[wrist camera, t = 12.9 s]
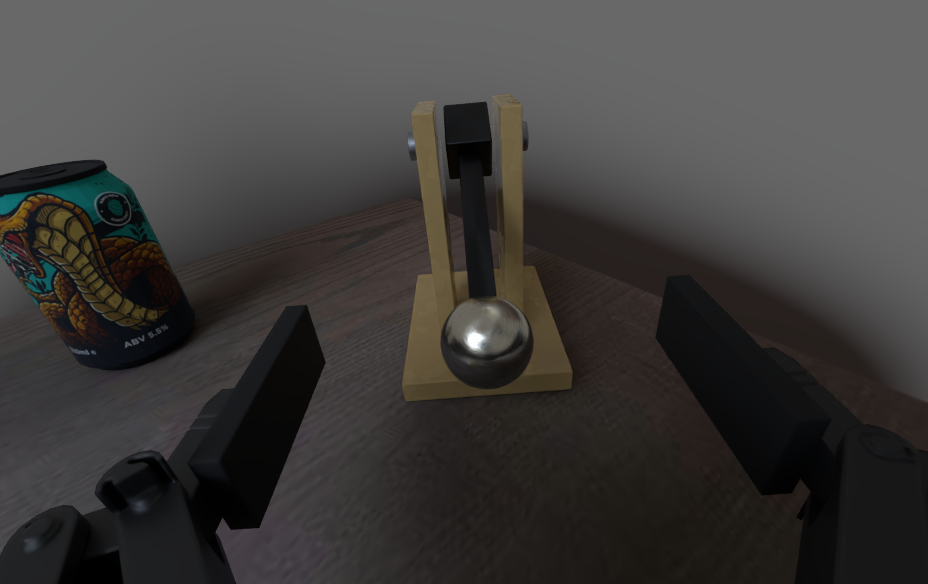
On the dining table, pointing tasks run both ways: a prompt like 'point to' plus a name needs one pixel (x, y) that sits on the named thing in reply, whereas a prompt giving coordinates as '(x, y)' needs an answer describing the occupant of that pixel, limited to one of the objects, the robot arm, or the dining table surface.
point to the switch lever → (480, 268)
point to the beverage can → (92, 263)
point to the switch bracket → (450, 288)
